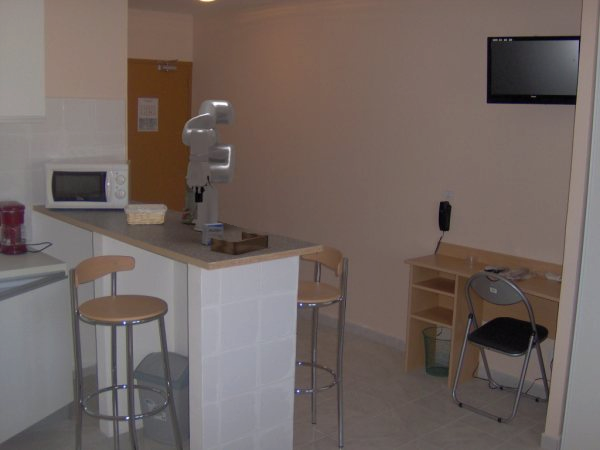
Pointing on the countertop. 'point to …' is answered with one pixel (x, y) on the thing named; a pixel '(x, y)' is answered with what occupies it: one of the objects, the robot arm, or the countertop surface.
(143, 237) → the countertop surface
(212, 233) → the medicine box
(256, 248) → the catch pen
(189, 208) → the bottle
